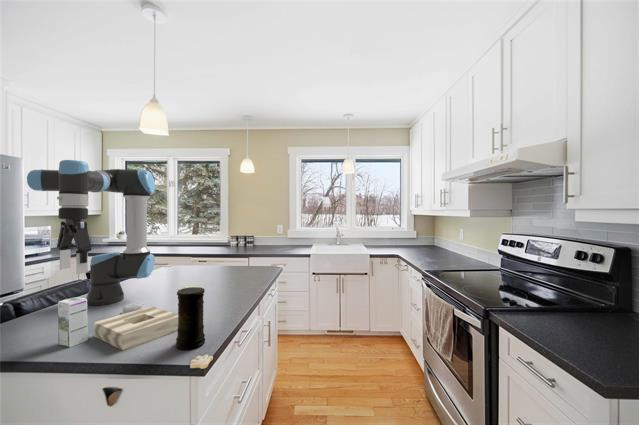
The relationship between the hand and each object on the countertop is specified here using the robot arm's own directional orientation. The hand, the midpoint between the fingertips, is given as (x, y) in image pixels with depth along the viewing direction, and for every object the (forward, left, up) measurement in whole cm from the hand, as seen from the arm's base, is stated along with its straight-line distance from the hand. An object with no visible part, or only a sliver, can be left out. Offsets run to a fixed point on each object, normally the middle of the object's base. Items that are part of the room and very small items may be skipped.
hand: (73, 271), depth 96 cm
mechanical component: (-11, +24, -24) cm, 36 cm away
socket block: (+10, +16, -24) cm, 30 cm away
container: (+34, +20, -24) cm, 46 cm away
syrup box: (0, 0, -24) cm, 24 cm away
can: (+9, +37, -24) cm, 45 cm away
